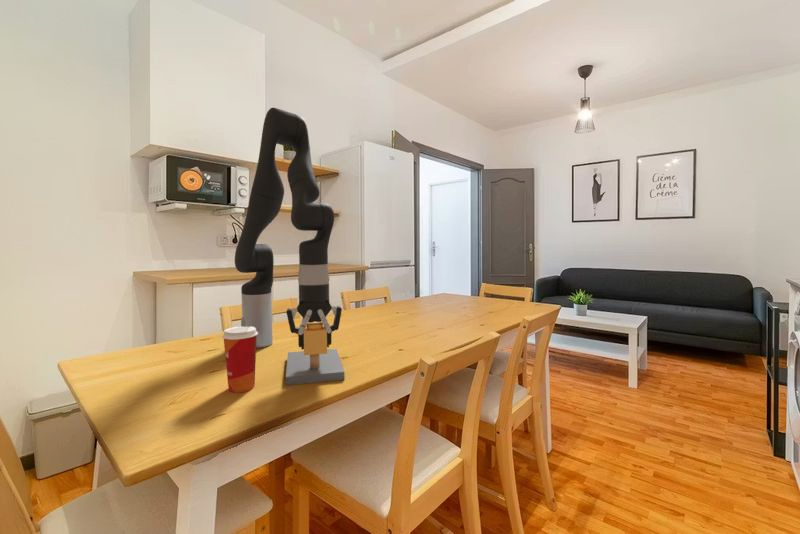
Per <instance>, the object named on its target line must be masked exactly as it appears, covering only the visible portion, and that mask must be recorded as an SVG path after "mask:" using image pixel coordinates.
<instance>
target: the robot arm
mask: <svg viewBox="0 0 800 534" xmlns="http://www.w3.org/2000/svg"><path fill="white" fill-rule="evenodd" d="M261 132H262V133H261V139H260V145H259V146H260V147H259V153H258V160H257V166H256V170H255V175H254V177H253V182H252V187H251V190H250V195H249V200H248V206H247V210H246V215H245V219H244V223H243V226H242V231H241V232H240V236H239V239H238V242H237V246H236V249H235V254H234V266H235V269H236V270H237V271H238V272H239V273H243V274H251V273H255V276H254V277H253V278H252V279H251V280H249V281H247V282H245V283H243V284H242V285H241V286H240V287H241V290H240V291H241V319H240V326H242V327H243V326H249V327H250V326H252V327H255V328H256V331H257V332H258V334H257V335H256V349H259V348H266V347H269V346H271V345H273V340H274V339H273V337H274V336H273V302H272V301H273V300H272V299H273V296H272V294H273V293H272V287H273V284H274V263H275V262H274V252H273V250H272V247H271V246H270V245H269V244H266V243H257V242H258V240H259V237H260V236H261V234H262V232H263V231H264V230H265V229H266V228H267V227H268V226H269V225H270V224H271V223H272V222H273V221H274V220H275V218H276V217H277V216H278V215H279V214H280V211H281V208H282V203H283V201H284V196H285V187H284V184H283V180H282V178H281V175H280V173H279V172H280V171H279V169H278V166H277V162H276V148H277V144H278V145H280V146H285V147H288V148H292V149H294V152H295V155H294V157H293V158H292V160H291V162H290V164H289V166H288V168H287V171H286V172H287V182H288V185H289V186H288V187H289V189H290V191H291V192H290V193H291V202H292V203H291V212H290V222H291V223H292V226H294V228H295V229H296V230H298V231H305V232H306V231H309V232H310V231H313V232H314V231H315V232H316V233H315V234H316V235H315V236H314V238H312V239H307V240H303V241H301V242H300V243H299V246H298V254H299V256H298V258H299V262H298V263H299V265H298V279H297V280H298V281H297V282H298V304H297V307H293V308H287V309H286V316H287V321H288V325H289V330H290V332H291V334H296V335H298V337H297V338H298V340H297V341H298V342H297V343H298V348H300V349H301V350H304V333H303V332H304V330H305V327H306V326H307V323H311V322H322V323H323V325H324V327H325V329H327V348H330V346H331V345H332V334H333V332H334V331H338V330H339V327H340V322H341V316H342V311H343V309H342V306H341V305H337V306H335V305H331V303H330V271H329V263H328V262H329V260H328V259H329V257H328V256H329V253H328V249H329V245H330V244H329V243H330V239H331V234H332V231H333V228H334V223H335V212H334V210H333V207H332V206H331V205H330V204H329V203H325V202H315V201H317V200H318V198H319V197H320V188H319V185H318V183H317V178H316V176H315V172H314V169H313V163H312V155H311V147H310V137H309V130H308V124H307V123H306V120H305V118H304V117H302V116H301V115H299V114H296V113H293V112H290V111H287V110H284V109H280V108H277V107H271V108H269V109H268V111H267V112H266V114H265V117H264V120H263V126H262V131H261ZM331 311H332V314H333V315H334V318H333V324H332V325H330V323H329V322H328V319H327V316H328V314H329V313H330V312H331ZM297 313H298V314H299V315H300V316H301V317H302V319H301V321H300V325H299V327H296V324H295V320H294V318H295V317H296V314H297Z"/></svg>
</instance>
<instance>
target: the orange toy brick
mask: <svg viewBox="0 0 800 534" xmlns="http://www.w3.org/2000/svg"><path fill="white" fill-rule="evenodd" d="M303 333H304V349H303V351H304V355H316V354H327V349H328V347H327V329H325V327H324V325H323V323H322V321H321V322H311V323H307V325H306V327H305V330H304V332H303Z"/></svg>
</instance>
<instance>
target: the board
mask: <svg viewBox="0 0 800 534" xmlns="http://www.w3.org/2000/svg"><path fill="white" fill-rule="evenodd" d="M286 359H287V361H286V371H285V372H286V373H285V386H291V385H292V386H293V385H301V384H302V385H303V384H314V383H324V382H325V383H326V382H335V381H343V380H345V379H346V378H345V370H344V367H343V363H342V360H341V357H340V355H339V352H338V349H337V348H330V349H329V348H327V354H316V355H304V350H303V351H291V352H290V351H288V352H287V358H286Z"/></svg>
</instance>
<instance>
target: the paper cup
mask: <svg viewBox="0 0 800 534" xmlns="http://www.w3.org/2000/svg"><path fill="white" fill-rule="evenodd" d="M257 334H258V332H257V331H256V328H255V327H252V326H250V327H249V326H243V327H242V326H241V325H240V326H232V327H229V328H226V329H224V331H223V334H222V336H221V337H222V339H223V344H224V345H223V346H224V348H223V349H224V356H225V357H224V358H225V368H226V375H227V378H226V379H227V385H228V386H227V387H228V391H229V392H231V393H236V394H238V393H245V392H248V391H250V390H252V389H254V388H255V384H256V383H255V382H256V381H255V380H256V360H257V348H256V335H257Z"/></svg>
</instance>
